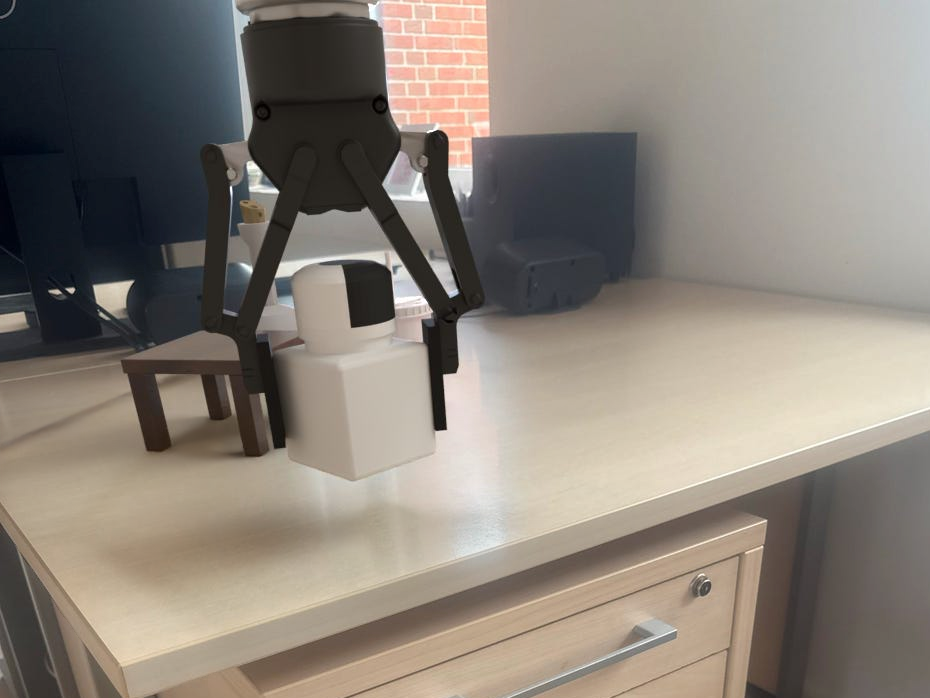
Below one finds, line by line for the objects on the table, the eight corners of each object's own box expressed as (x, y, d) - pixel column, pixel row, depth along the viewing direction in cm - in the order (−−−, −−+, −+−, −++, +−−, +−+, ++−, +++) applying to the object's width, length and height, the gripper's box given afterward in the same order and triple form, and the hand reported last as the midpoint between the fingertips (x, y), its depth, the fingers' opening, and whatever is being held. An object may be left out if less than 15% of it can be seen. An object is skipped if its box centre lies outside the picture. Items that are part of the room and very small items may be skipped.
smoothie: (368, 405, 89) (348, 251, 82) (429, 395, 91) (415, 244, 84) (388, 420, 84) (369, 257, 77) (452, 409, 86) (439, 249, 79)
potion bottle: (281, 363, 109) (254, 197, 100) (334, 369, 104) (310, 195, 95) (225, 380, 103) (190, 205, 94) (278, 387, 98) (247, 203, 89)
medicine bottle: (371, 435, 64) (350, 251, 58) (439, 454, 60) (424, 257, 54) (287, 461, 60) (255, 267, 54) (352, 484, 55) (326, 274, 49)
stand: (142, 451, 80) (119, 359, 76) (218, 413, 90) (200, 330, 86) (261, 457, 76) (243, 360, 73) (326, 417, 86) (313, 330, 82)
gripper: (77, 19, 43) (179, 471, 54) (532, 1, 46) (540, 431, 57) (102, 34, 49) (188, 436, 60) (500, 18, 53) (513, 401, 64)
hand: (359, 433), depth 59 cm, fingers closed on medicine bottle, 10 cm apart
